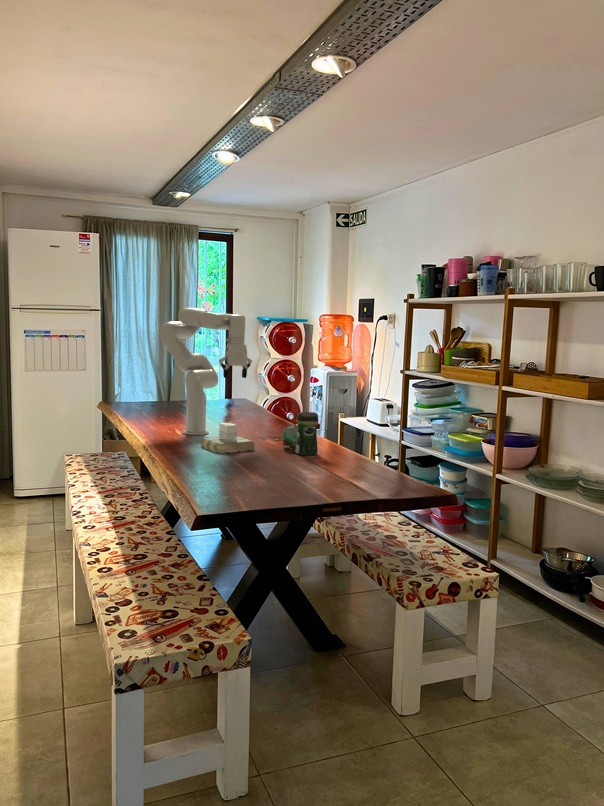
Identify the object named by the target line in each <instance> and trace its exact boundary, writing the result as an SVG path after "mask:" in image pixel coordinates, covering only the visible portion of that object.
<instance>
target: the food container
mask: <svg viewBox="0 0 604 806" xmlns="http://www.w3.org/2000/svg"><path fill="white" fill-rule="evenodd" d="M282 432H283V433H282V437H283V439H282V444H283V445H282V449H283V448H286V449H285V450H290V449H289V448H295V449H296V441H297V433H298V425H297V424H294V423H293V424H292V423H291V424H290V423H288V426H286V427H283V429H282ZM287 448H288V449H287Z"/></svg>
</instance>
